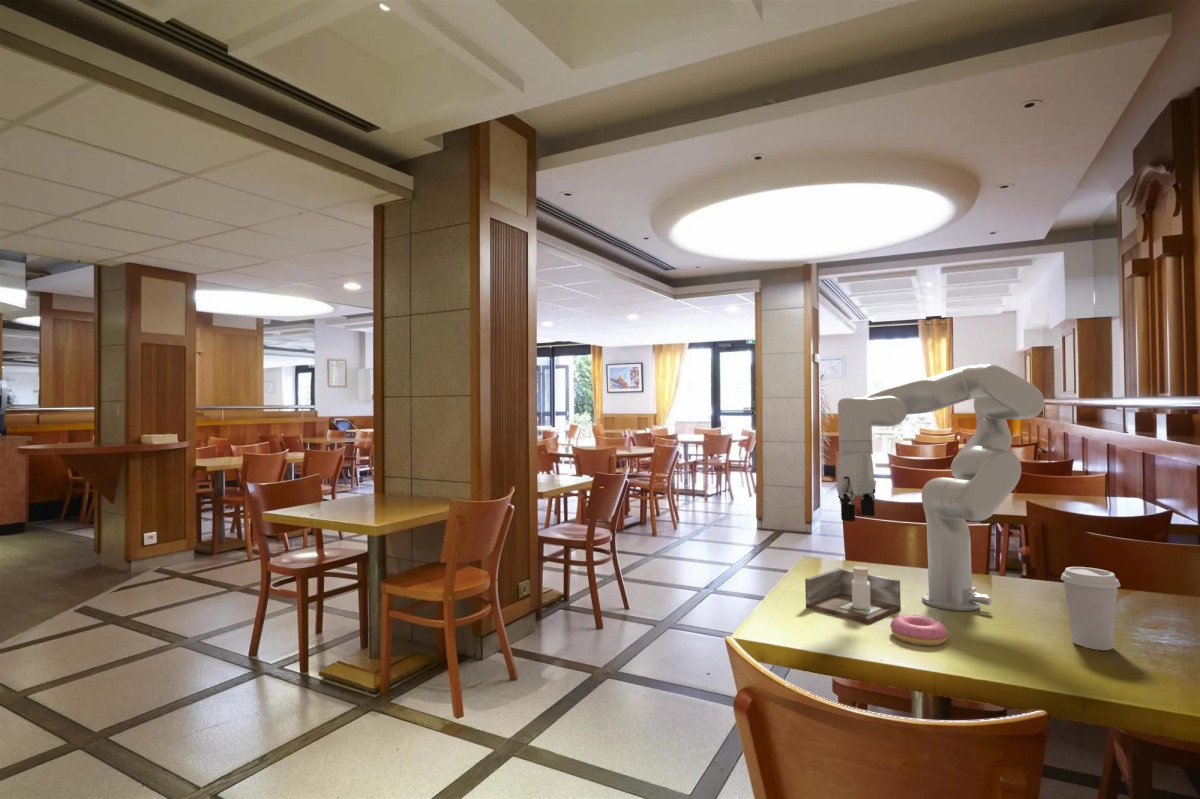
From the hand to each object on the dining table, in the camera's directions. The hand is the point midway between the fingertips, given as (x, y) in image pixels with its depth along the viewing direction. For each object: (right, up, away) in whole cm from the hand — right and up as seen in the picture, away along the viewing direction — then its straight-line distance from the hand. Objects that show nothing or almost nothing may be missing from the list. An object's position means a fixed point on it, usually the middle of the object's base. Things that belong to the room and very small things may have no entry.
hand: (858, 518), depth 148 cm
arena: (-1, -23, +2) cm, 23 cm away
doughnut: (+5, -23, -18) cm, 29 cm away
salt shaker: (0, -22, -2) cm, 22 cm away
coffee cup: (+38, -22, -23) cm, 50 cm away
